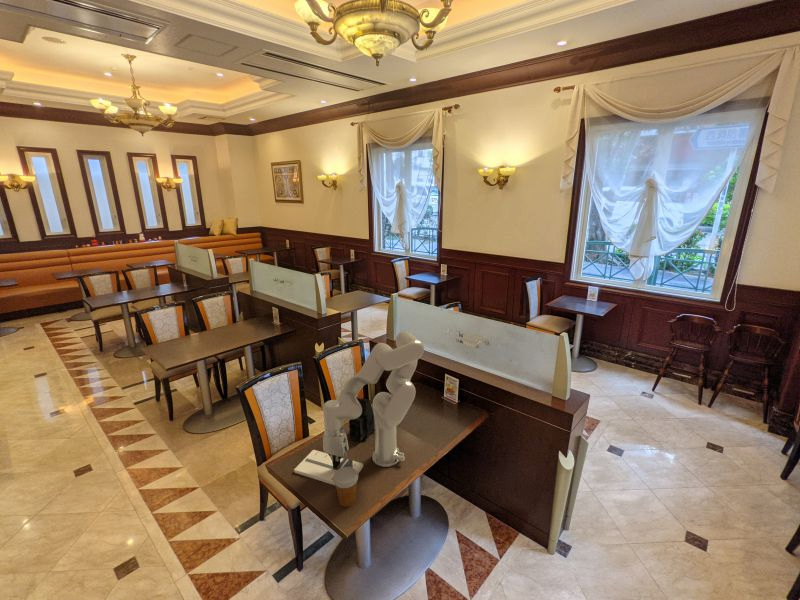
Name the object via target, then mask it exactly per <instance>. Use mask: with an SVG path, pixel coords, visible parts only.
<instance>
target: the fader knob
mask: <svg viewBox="0 0 800 600" xmlns="http://www.w3.org/2000/svg"><path fill="white" fill-rule="evenodd" d="M353 461H354V460H353V459H349V458H344V459H343V460H342V462H341V463H340V464H339V465H338V466H337V470H339V469H340V468H343V467H352V468H353Z"/></svg>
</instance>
